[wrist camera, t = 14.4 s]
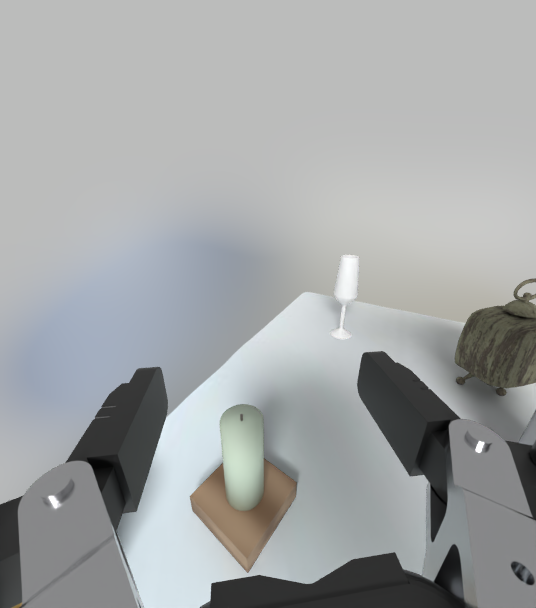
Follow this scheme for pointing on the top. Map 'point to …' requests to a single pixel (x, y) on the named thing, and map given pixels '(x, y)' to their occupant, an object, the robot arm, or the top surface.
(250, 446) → the candle
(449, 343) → the top surface
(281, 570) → the top surface
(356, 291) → the champagne flute
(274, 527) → the walnut block
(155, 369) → the robot arm
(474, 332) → the tabletop clock
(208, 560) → the top surface
